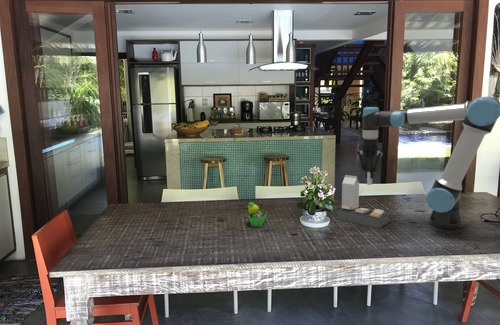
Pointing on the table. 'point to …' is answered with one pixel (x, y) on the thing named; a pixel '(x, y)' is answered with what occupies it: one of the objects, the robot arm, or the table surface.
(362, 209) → the middle rocker
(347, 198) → the milk carton
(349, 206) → the far rocker
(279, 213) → the table surface
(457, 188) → the robot arm
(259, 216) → the chick basket toy
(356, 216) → the switch panel
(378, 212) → the near rocker
